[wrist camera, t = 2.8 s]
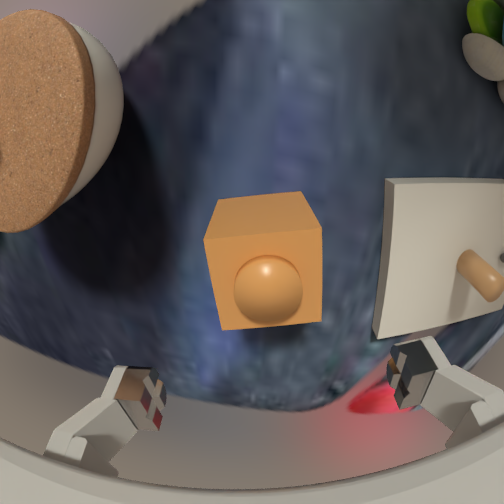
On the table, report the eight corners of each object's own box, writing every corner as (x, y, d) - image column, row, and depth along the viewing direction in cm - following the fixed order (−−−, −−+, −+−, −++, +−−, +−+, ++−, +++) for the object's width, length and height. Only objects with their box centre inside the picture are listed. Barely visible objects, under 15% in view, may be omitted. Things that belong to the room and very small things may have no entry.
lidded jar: (44, 207, 18) (-42, 268, 10) (11, 80, 14) (-85, 90, 5) (170, 160, 17) (97, 210, 9) (131, 8, 12) (47, -47, 4)
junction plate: (384, 178, 17) (428, 205, 12) (520, 179, 17) (565, 201, 12) (371, 327, 23) (393, 376, 18) (494, 300, 22) (524, 334, 17)
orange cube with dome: (218, 199, 18) (200, 247, 12) (300, 191, 18) (325, 235, 12) (229, 271, 20) (220, 341, 14) (304, 264, 20) (324, 331, 14)
